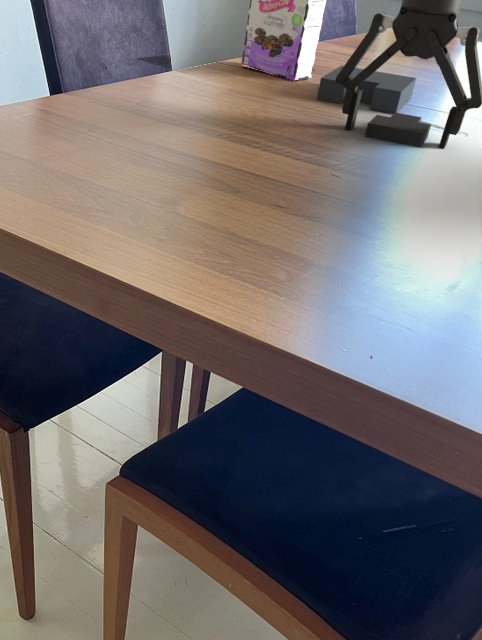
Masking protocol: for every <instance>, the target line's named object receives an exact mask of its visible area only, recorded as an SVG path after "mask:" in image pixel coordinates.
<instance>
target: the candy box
mask: <svg viewBox="0 0 482 640" xmlns="http://www.w3.org/2000/svg"><path fill="white" fill-rule="evenodd" d="M326 3H327V0H250V1H249V7H248V14H247V22H246V29H245V38H244V43H243V45H244V46H243V51H242V59H241V65H242V64H243V65H247V66H249V67H253V68H255V69H258V70H262V71H265V72H268V73H272V74H274V75H278V76H281V77H284V78H283V79H285V78H287V79H286V80H288V79H290V80H289V81H292V80H293V81H292V82H296V81H295V80H298V81H303V80H302V79H307V80H309V79H308V78H311V79H312V74H313V69H314V63H315V59H316V53H317V49H318V43H319V40H320V33H321V28H322V24H323V19H324V14H325V10H326ZM274 75H273V76H274ZM281 77H280V78H281Z"/></svg>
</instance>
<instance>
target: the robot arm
mask: <svg viewBox="0 0 482 640" xmlns="http://www.w3.org/2000/svg"><path fill="white" fill-rule="evenodd" d="M463 2H464V0H401V4H400V8H399V12H398V13H397V15H396V16H391V15H388V14H386V12H385V11H380V12H378V13H375V14H374V16H373V18H372V20H371V24H370V27H369V30H368V32H366V34H365V36H364V37H363V39H362V40H361V42H360V43H359V45H358V46H357V47H356V49H355V50H354V51H353V53H352V54H351V55H350V57H349V58H348V60H347V61H346V62H345V64H344V65H343V66H344V67H343V68H342V70H341V71H340V72H339V74H338V75H337V77H336V82H337V83H338V84H341V85H343V86H344V87H345V88H346V95H345V99H344V102H343V103H342V108H341V111H342V114H343V115H347V117H346V122H345V126H344V131H348V132H350V131H352V130H353V128H355V124H356V120H357V116H358V111H359V108H360V104H361V102H360V100H361V96H362V91H363V90H361V89H357V88H358V86H359V85H360V84H361V83H362V82H364V81H365V80H366V79H367V78H368V77H369V76H371V75H372V74H373V73H374V72H375V71H378V70H379V69H380V68H381V67H382V66H383V65H385V63H387V62H388V61H389V60H390V59H392V58H393V57H394V56H395V55H396V54H397V53H398V52H400V53H401V54H402V55H403V56H404V57H408V58H412V57H417V58H419V59H421V60H426V61H428V60H430V59H433V58H434V60H435V62H436V65H437V66H438V67H439V71H440V72H441V74H442V76H443V79H444V81H445V84H446V86H447V88H448V91H449V93H450V95H451V98H452V100H453V103H454V105H455V106H451V108H450V109H449V112H448V115H447V119H446V122H445V125H444V128H443V132H442V134H441V137H440V141H439V145H438V149H442V150H444V149H445V148H446V146H447V145H448V141H449V138H450V136H451V135H452V136H457V134H458V133H459V132H460V131H461V127H462V125H463V121H464V119H465V115H466V112H467V111H468V110H471V109H480V107H481V106H482V75H481V67H480V60H479V53H478V40H479V37H480V36H479V35H480V32H481V28H480V26H479V25H473V26H459V25H458V19H459V15H460V12H461V9H462V6H463ZM389 27H392V28H391V29H392V31H393V34H394V37H395V41H394V42H393V43H391V45H389V46H388V47H387V48H386V49H385V50H384V51H383V52H382V53H380V54H379V55H378V56H376V58H375V59H374V60H373V61H371V62H370V63H369V64H368V65H367V66H366V67H365V68H363V69H364V70H362V71H361V72H360V73H359V74H358V75H357V76H356V77H355V78H353V77H351V76H350V74H351V73H352V72H353V70H354V69H355V68H357V66H358V65H359V64H360V62H361V61H362V59H364V56H365V55H366V54H367V53H368V52H369V50H370V48H371V47H372V45H373V44H374V43H375V41H376V40H377V39H378V37H379V36H380V34H382V33H385V32H386V31H387V30H388V29H389ZM456 37H457V38H458V39H459V43H460V45H461V46H463V47H464V55H465V62H466V71H467V79H468V84H469V93H470V97H468V96H467V94H466V92H465V90H464V86H463V85H462V81H461V80H460V78H459V76H458V72H457V70H456V68H455V65H454V63H453V61H452V59H451V54H450V52H449V50H448V47H447V45H448V44H450V43H451V42H452V41H453V40H454V39H455V38H456Z"/></svg>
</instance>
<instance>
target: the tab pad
mask: <svg viewBox="0 0 482 640" xmlns="http://www.w3.org/2000/svg"><path fill="white" fill-rule="evenodd" d="M431 127H432V124H431V123H424V122H422V117H421V116H416V115H411V114H406V113H400V112H397V113H394V114H393V113H392V115H390V116H386V115H380V114H376V115H375V116H374V117H373V118H372V119H370V120H369V122H367V125H366V128H365V133H364V138H368V139H373V140H379V141H384V142H388V143H394V144H398V145H404V146H409V147H415V148H419V149H421V147H423V145H424V143H425V142H426V141H427V139H428V137H429V133H430V131H431Z"/></svg>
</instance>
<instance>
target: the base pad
mask: <svg viewBox="0 0 482 640" xmlns="http://www.w3.org/2000/svg"><path fill="white" fill-rule="evenodd" d="M343 67H344V65H340V66H338V67H337V68H335V69H333V70H332V71H330V72H329V73H327V74H325V75H323V76H322V77H320V81H319V84H318V89H317V90H318V91H317V96H316V100H318V101H323V102H327V103H333V104H339V105H343V103H344V99H345V95H346V88H345V87H344V86H343V85H341V84H338V83H337V82H336V77H337V75H338V74H339V72H340V71H341V70H342V68H343ZM364 69H365V68H359V67H356V68H355V69H354V70H353V72H352V73H351V74H350V76H351V77H353V78H355V77H356V76H357V75H358V74H359V73H360V72H361V71H362V70H364ZM416 82H417V77H414V76H406V75H400V74H394V73H390V72H389V73H388V72H383V71H378V70H376V71H375V72H374V73H373V74H372V75H371V76H369V77H368V78H367V79H366V80H365V81H364V82H362V83H361V84H360V85H359V86H358V88H357V89H361V90H363V91H362V96H361V100H360V103H363V104H368V105H370V107H369V110H372V111H378V112H383V113H387V114H392V115H393V114H394V113H399V111H400V110H401V109H402V108H403V107H404V106H405V105H406V104H407V103H408V102H409V101H410V100H411V99H412V96H413V92H414V89H415V84H416Z"/></svg>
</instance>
